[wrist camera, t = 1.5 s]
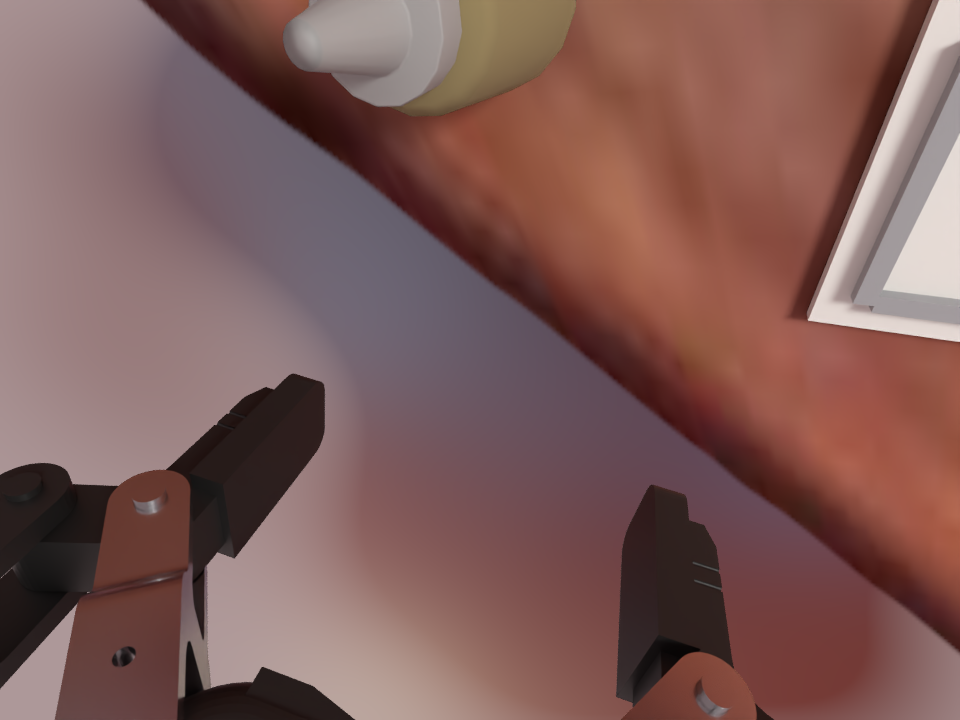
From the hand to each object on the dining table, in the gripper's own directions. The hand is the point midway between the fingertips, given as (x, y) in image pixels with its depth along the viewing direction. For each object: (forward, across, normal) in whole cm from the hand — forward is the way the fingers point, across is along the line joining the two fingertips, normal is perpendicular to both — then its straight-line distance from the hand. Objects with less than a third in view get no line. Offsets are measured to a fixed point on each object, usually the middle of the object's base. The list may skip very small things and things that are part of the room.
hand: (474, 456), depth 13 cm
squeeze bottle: (+23, +6, -10) cm, 25 cm away
